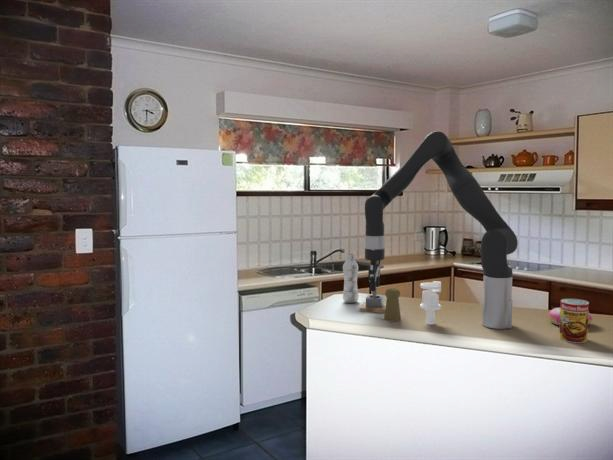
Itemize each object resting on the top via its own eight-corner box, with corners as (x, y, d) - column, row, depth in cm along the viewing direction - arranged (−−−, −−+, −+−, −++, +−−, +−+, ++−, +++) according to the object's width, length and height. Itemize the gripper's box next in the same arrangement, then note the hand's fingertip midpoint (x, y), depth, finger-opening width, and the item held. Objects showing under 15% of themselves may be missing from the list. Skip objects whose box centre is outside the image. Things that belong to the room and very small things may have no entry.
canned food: (560, 341, 164) (561, 303, 162) (558, 334, 171) (559, 297, 170) (588, 344, 161) (590, 305, 160) (585, 336, 168) (587, 299, 167)
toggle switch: (388, 306, 210) (389, 286, 209) (385, 312, 200) (385, 291, 199) (363, 305, 212) (363, 284, 212) (359, 311, 203) (359, 289, 202)
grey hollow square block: (368, 303, 210) (368, 294, 210) (383, 304, 208) (383, 295, 208) (365, 307, 204) (365, 298, 204) (381, 307, 203) (381, 298, 202)
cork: (400, 321, 188) (401, 290, 187) (383, 320, 189) (383, 290, 188) (401, 317, 194) (401, 287, 193) (384, 316, 195) (384, 286, 194)
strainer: (439, 327, 180) (440, 283, 179) (418, 325, 183) (418, 282, 181) (441, 321, 187) (442, 279, 185) (421, 320, 189) (421, 278, 188)
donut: (591, 321, 186) (591, 307, 186) (592, 331, 174) (593, 316, 174) (549, 317, 192) (549, 304, 192) (547, 326, 180) (548, 312, 180)
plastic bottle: (361, 301, 218) (361, 253, 216) (353, 305, 212) (353, 255, 210) (347, 300, 222) (347, 252, 220) (339, 303, 216) (339, 254, 214)
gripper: (368, 244, 212) (367, 284, 213) (361, 249, 198) (361, 292, 200) (386, 245, 210) (386, 285, 211) (381, 249, 196) (381, 293, 198)
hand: (374, 288), depth 205 cm, fingers open, 8 cm apart
